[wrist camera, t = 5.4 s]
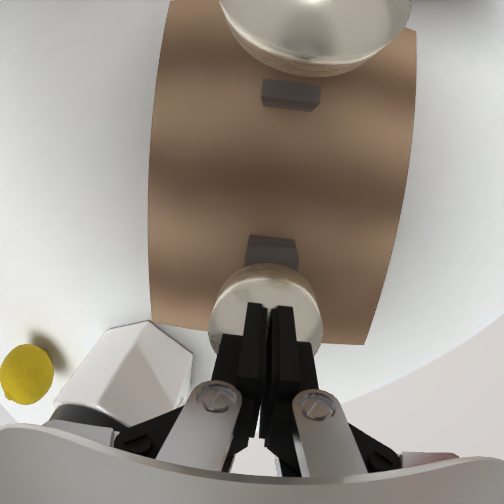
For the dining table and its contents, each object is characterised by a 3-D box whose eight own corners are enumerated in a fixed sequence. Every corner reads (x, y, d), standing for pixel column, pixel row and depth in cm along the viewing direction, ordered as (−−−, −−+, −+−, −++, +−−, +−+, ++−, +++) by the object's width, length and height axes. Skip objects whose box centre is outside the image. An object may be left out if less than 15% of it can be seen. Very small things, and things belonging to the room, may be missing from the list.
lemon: (21, 334, 24) (-20, 375, 17) (45, 327, 24) (0, 374, 16) (47, 372, 26) (13, 417, 19) (74, 370, 25) (38, 421, 18)
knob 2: (231, 230, 16) (209, 277, 10) (312, 239, 16) (334, 291, 10) (226, 302, 17) (207, 370, 12) (300, 310, 17) (310, 380, 12)
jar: (190, 404, 25) (159, 512, 14) (112, 380, 25) (60, 473, 14) (199, 332, 22) (151, 466, 11) (104, 306, 22) (20, 406, 11)
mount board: (184, 18, 14) (152, -22, 9) (397, 44, 14) (439, 15, 8) (165, 300, 21) (135, 349, 16) (354, 321, 21) (375, 374, 15)
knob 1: (245, 2, 9) (226, -85, 3) (351, 17, 9) (402, -57, 3) (234, 94, 10) (199, 45, 5) (346, 108, 10) (412, 78, 5)
